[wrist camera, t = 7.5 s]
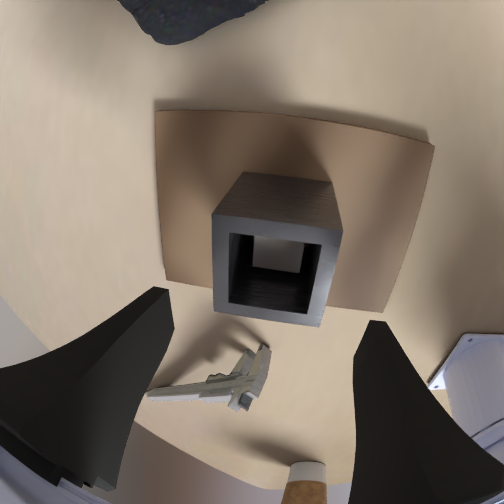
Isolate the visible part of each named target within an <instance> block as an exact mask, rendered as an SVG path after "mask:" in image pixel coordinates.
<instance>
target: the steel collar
mask: <svg viewBox="0 0 504 504" xmlns="http://www.w3.org/2000/svg"><path fill="white" fill-rule="evenodd" d="M211 219H212V272H213V303H214V311H215V312H221V313H226V314H232V315H238V316H244V317H250V318H257V319H263V320H270V321H277V322H284V323H291V324H298V325H306V326H314V327H320V323H321V320H322V316H323V313H324V309H325V305H326V301H327V298H328V294H329V290H330V286H331V282H332V278H333V274H334V270H335V266H336V262H337V258H338V253H339V249H340V245H341V240H342V235H343V226H342V222H341V217H340V213H339V208H338V204H337V199H336V195H335V191H334V187H333V183H332V182H327V181H320V180H313V179H306V178H298V177H290V176H282V175H273V174H264V173H254V172H244V171H243V172H242V174H241V175H240V176H239V177H238V179H237V180H236V181H235V183H234V184H233V185H232V187H231V188H230V189H229V191H228V192H227V193H226V195H225V196H224V197H223V199H222V200H221V202H220V203H219V204H218V206H217V207H216V208H215V210H214V211H213V212H212V214H211ZM252 235H254V236H261V237H269V238H276V239H284V240H291V241H298V242H306V243H310V248H309V247H304V249H303V255H302V261H301V266H300V272H299V273H294V272H288V271H281V270H274V269H267V268H261V267H254V266H252V265H253V251H254V240H251V239H252Z"/></svg>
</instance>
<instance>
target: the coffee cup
mask: <svg viewBox="0 0 504 504" xmlns="http://www.w3.org/2000/svg"><path fill="white" fill-rule="evenodd" d="M326 494H327V491H326V465H325V464H323V463H319V462H310V461H306V462H297V463H294V464H292V465H291V468H290V473H289V477H288V481H287V484H286V488H285V492H284V495H283V499H282V502H281V504H327V495H326Z"/></svg>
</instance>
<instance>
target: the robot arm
mask: <svg viewBox="0 0 504 504" xmlns="http://www.w3.org/2000/svg"><path fill="white" fill-rule="evenodd" d="M174 329H175V328H174V322H173V316H172V310H171V303H170V296H169V289H165V288H160V287H155V286H154V287H152V288H151V289H149V290H148V291H146V292H145V293H144V294H142V295H141V296H139V297H138V298H137V299H135V300H134V301H133V302H131V303H130V304H129V305H127V306H126V307H124V308H123V309H122V310H120V311H119V312H117V313H116V314H115V315H113V316H112V317H110V318H109V319H107V320H106V321H104V322H103V323H101V324H100V325H98V326H97V327H95V328H94V329H92V330H91V331H89V332H87V333H86V334H84V335H82V336H81V337H79V338H77V339H75V340H73V341H71V342H70V343H68V344H66V345H64V346H62V347H60V348H57V349H55V350H53V351H51V352H49V353H46V354H44V355H42V356H39V357H37V358H34V359H31V360H29V361H26V362H22V363H19V364H16V365H12V366H9V367H4V368H0V504H111V503H109V502H107V501H104V500H102V499H101V498H98V497H96V496H94V495H92V494H91V493H89V492H87V491H85V490H83V489H81V488H82V486H83V484H84V485H86V486H88V487H90V488H92V487H93V485H95V486H98V487H99V488H102V489H104V490H106V491H111V490H114V489H116V485H117V479H118V474H119V469H120V465H121V461H122V457H123V453H124V449H125V446H126V442H127V439H128V436H129V433H130V430H131V426H132V423H133V421H134V418H135V415H136V412H137V410H138V407H139V404H140V402H141V400H142V398H143V396H144V394H145V392H146V390H147V388H148V386H149V384H150V382H151V380H152V378H153V376H154V374H155V373H156V371H157V369H158V367H159V365H160V363H161V361H162V359H163V357H164V355H165V353H166V351H167V348H168V346H169V343H170V340H171V337H172V335H173V332H174ZM429 389H430V390H433V389H446V391H447V395H448V399H449V403H450V407H451V412H452V416H453V419H452V418H451V417H450V415H449V414H448V413H447V412H446V411H445V409H444V408H443V407H442V406H441V404H440V403H439V402H438V401H437V400H436V398H435V397H434V396H433V394H432V393H431V392H430V390H429ZM353 393H354V407H355V422H356V452H355V463H354V471H353V479H352V486H351V491H350V497H349V502H348V504H494V503H496V502H499V501H501V500H503V499H504V335H500V334H464V335H463V336H462V337H461V339H460V340H459V342H458V343H457V345H456V346H455V348H454V349H453V351H452V352H451V354H450V355H449V357H448V358H447V360H446V361H445V362H444V364H443V365H442V367H441V368H440V369H439V371H438V372H437V373H436V375H435V376H434V377H433V379H432V380H431V381H430V383H429V384H428V387H427V386H426V384H425V383H424V382H423V380H422V379H421V377H420V376H419V374H418V373H417V371H416V370H415V368H414V367H413V365H412V363H411V362H410V360H409V359H408V357H407V356H406V354H405V352H404V351H403V349H402V347H401V346H400V344H399V342H398V341H397V339H396V337H395V336H394V334H393V333H392V331H391V329H390V328H389V326H388V325H387V323H386V322H385V321H375V320H370V321H369V323H368V326H367V328H366V330H365V333H364V335H363V337H362V340H361V342H360V344H359V346H358V349H357V351H356V353H355V355H354V359H353ZM499 504H504V501H503V502H501V503H499Z"/></svg>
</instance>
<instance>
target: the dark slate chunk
mask: <svg viewBox="0 0 504 504" xmlns="http://www.w3.org/2000/svg"><path fill="white" fill-rule="evenodd" d="M117 1H120V3H121V4H122V6H123V7H124V8H125V9H126V10H128V11H129V12H131V14H132V15H133V17H134V18H135V20H136V21H137V23H138V24H139V26H140V27H141V29H142V30H143V31H144V32H145V33H146V34H149V35H151V36H152V38H153V39H154V40H155V41H156V42H158V43H161V44H165V45H175V44H180V43H183V42H186V41H190V40H193V39H195V38H197V37H198V36H200V35H202V34H204V33H205V32H206V31H208V30H210V29H211V28H213V27H216V26H218V25H220V24H222V23H224V22H226V21H228V20H231V19H234V18H238V17H242V16H244V15H245V13H247V12H250V11H252V10H254V9H256V8H257V7H258V6H259V5H262V4H264V3H265V1H268V0H117Z"/></svg>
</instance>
